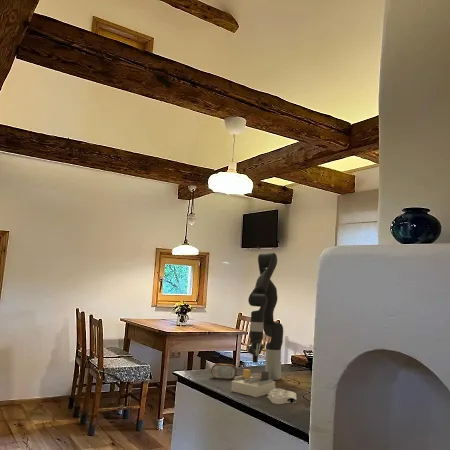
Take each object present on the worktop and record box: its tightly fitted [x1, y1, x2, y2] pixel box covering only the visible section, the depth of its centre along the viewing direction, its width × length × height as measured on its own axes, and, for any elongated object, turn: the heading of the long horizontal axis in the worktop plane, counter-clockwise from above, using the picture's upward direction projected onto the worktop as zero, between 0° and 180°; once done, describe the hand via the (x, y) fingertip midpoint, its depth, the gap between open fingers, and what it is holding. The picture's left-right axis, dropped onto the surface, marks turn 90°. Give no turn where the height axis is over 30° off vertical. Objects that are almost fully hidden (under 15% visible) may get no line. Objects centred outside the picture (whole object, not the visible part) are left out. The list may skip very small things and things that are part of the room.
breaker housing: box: [230, 375, 276, 398], centre depth 235 cm, size 17×16×6 cm
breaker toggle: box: [242, 368, 252, 379], centre depth 239 cm, size 3×4×5 cm
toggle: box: [260, 370, 270, 381], centre depth 236 cm, size 3×4×5 cm
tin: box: [210, 362, 238, 380], centre depth 262 cm, size 15×3×8 cm, turn 84°
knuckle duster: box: [266, 388, 297, 405], centre depth 222 cm, size 3×18×15 cm
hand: (255, 362), depth 245 cm, fingers closed
